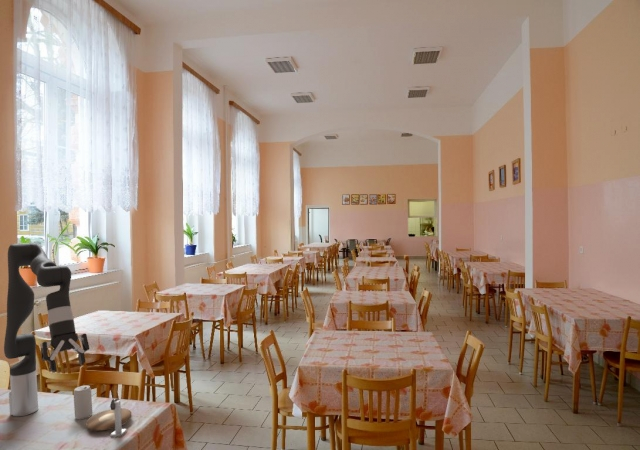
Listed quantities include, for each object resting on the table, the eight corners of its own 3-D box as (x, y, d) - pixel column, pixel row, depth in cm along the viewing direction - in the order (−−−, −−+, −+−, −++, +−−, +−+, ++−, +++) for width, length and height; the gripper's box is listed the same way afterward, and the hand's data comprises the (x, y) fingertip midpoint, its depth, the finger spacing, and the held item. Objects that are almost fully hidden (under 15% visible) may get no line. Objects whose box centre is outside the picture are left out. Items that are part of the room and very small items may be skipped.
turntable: (77, 430, 163) (77, 427, 163) (101, 411, 179) (101, 408, 179) (118, 430, 162) (118, 427, 162) (138, 410, 178) (138, 408, 178)
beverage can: (84, 420, 174) (83, 391, 174) (71, 419, 176) (69, 390, 175) (96, 413, 181) (94, 384, 180) (82, 412, 182) (81, 384, 182)
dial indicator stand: (110, 437, 160) (108, 402, 160) (117, 430, 165) (115, 396, 165) (121, 436, 160) (119, 402, 160) (127, 430, 165) (126, 396, 164)
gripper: (79, 319, 158) (86, 364, 155) (34, 327, 147) (41, 375, 144) (86, 315, 154) (94, 361, 150) (41, 323, 143) (48, 372, 139)
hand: (68, 368), depth 147 cm, fingers open, 8 cm apart
